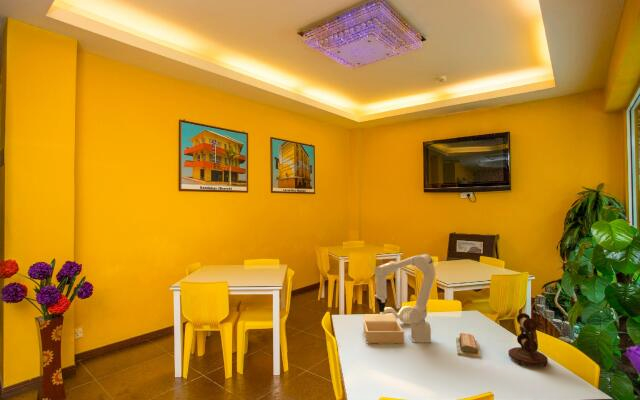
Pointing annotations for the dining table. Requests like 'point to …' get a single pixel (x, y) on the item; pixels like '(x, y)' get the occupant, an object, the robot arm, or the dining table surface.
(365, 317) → the carton flap
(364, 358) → the dining table surface
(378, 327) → the carton
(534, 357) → the brown figurine statuette
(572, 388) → the dining table surface
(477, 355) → the packaged product
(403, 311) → the letter
